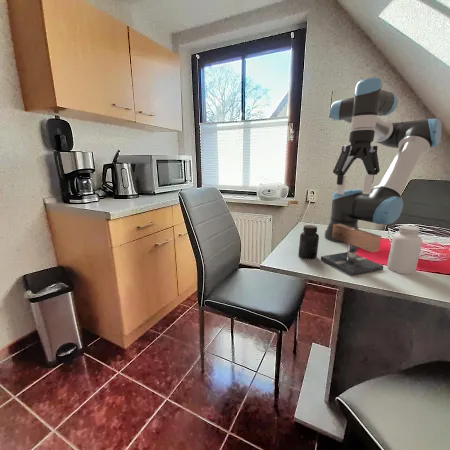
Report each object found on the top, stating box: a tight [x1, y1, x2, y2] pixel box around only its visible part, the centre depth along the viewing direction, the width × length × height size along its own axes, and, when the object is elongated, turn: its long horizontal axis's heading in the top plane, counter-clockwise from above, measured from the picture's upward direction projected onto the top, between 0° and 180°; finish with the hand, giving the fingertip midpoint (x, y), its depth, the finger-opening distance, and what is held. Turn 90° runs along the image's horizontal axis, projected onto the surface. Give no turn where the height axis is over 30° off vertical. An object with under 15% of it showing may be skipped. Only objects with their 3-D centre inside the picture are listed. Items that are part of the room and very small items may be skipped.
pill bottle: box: [386, 224, 423, 275], centre depth 82 cm, size 8×8×15 cm
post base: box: [320, 250, 384, 277], centre depth 87 cm, size 14×14×5 cm
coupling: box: [332, 223, 382, 253], centre depth 85 cm, size 3×17×8 cm, turn 20°
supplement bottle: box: [298, 224, 320, 260], centre depth 93 cm, size 7×7×12 cm
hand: (353, 193), depth 90 cm, fingers open, 12 cm apart
